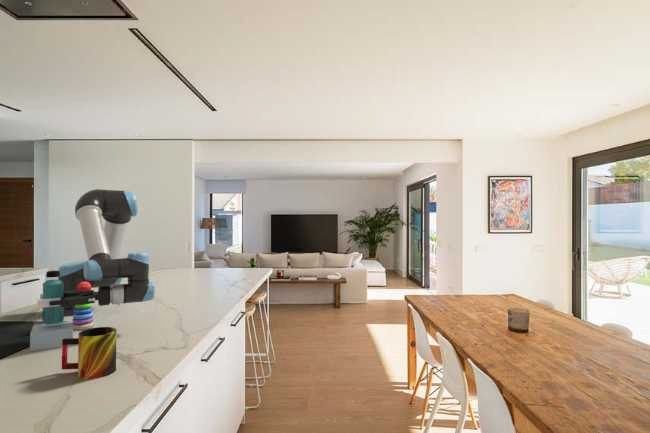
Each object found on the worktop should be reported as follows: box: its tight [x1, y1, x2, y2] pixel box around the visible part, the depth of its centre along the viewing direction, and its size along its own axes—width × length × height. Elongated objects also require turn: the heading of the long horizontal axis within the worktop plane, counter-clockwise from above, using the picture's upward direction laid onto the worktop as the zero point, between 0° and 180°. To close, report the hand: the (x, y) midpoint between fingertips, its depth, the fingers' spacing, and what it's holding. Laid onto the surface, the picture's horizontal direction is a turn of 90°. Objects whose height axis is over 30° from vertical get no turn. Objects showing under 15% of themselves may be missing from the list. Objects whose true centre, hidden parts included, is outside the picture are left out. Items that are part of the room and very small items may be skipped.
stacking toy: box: [71, 282, 95, 331], centre depth 161 cm, size 8×8×19 cm
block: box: [29, 320, 74, 352], centre depth 141 cm, size 12×12×6 cm
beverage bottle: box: [41, 270, 65, 325], centre depth 141 cm, size 6×7×20 cm
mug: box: [61, 326, 117, 380], centre depth 114 cm, size 10×14×12 cm
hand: (38, 300), depth 138 cm, fingers open, 10 cm apart
